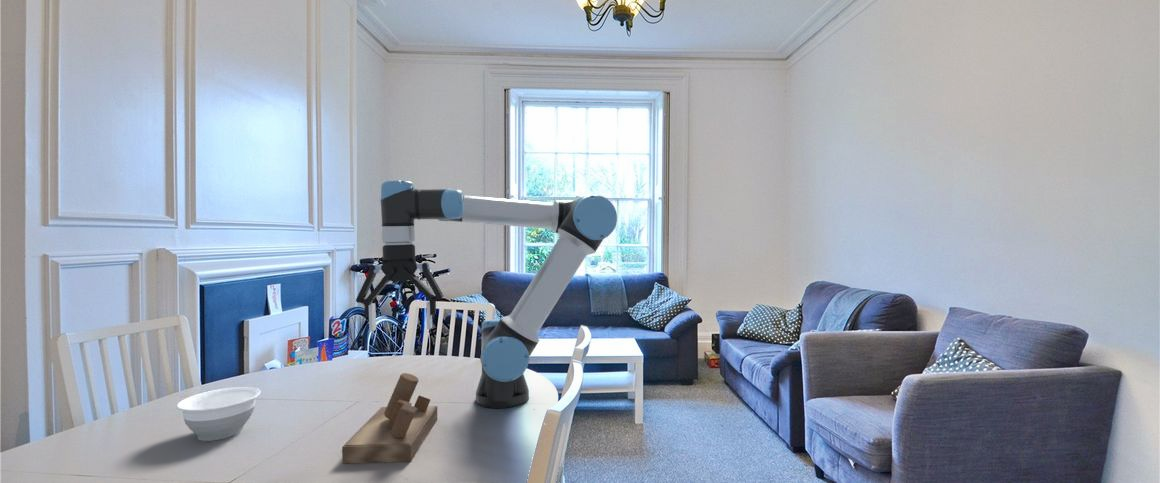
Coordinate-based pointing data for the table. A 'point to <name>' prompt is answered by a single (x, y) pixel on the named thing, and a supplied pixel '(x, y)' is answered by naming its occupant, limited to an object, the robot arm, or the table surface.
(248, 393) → the bowl
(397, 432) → the wooden block set
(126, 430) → the table surface
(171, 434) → the table surface
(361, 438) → the plinth
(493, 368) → the robot arm
